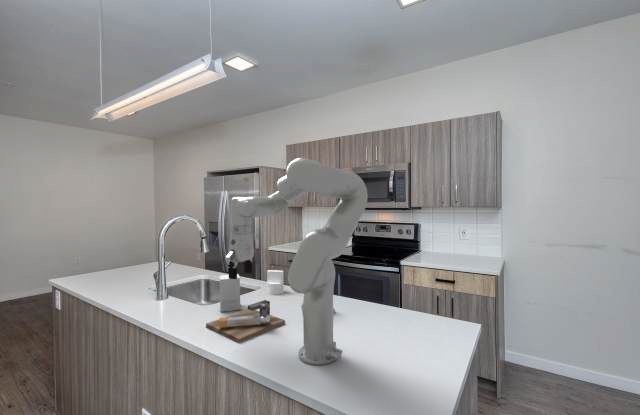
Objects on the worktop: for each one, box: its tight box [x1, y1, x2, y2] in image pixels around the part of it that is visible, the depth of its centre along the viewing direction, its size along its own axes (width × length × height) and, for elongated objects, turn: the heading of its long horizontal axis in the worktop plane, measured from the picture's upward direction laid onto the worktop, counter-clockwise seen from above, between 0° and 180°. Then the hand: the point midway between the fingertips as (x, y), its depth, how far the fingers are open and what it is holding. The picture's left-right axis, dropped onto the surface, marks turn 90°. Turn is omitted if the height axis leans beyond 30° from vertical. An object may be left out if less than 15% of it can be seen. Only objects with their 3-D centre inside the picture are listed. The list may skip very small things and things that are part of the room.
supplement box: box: [219, 273, 241, 313], centre depth 142 cm, size 9×9×15 cm
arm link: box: [218, 303, 271, 328], centre depth 117 cm, size 19×4×8 cm, turn 100°
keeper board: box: [205, 299, 286, 344], centre depth 121 cm, size 22×22×8 cm
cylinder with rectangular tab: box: [266, 269, 285, 296], centre depth 166 cm, size 9×9×12 cm
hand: (240, 275), depth 113 cm, fingers open, 9 cm apart
